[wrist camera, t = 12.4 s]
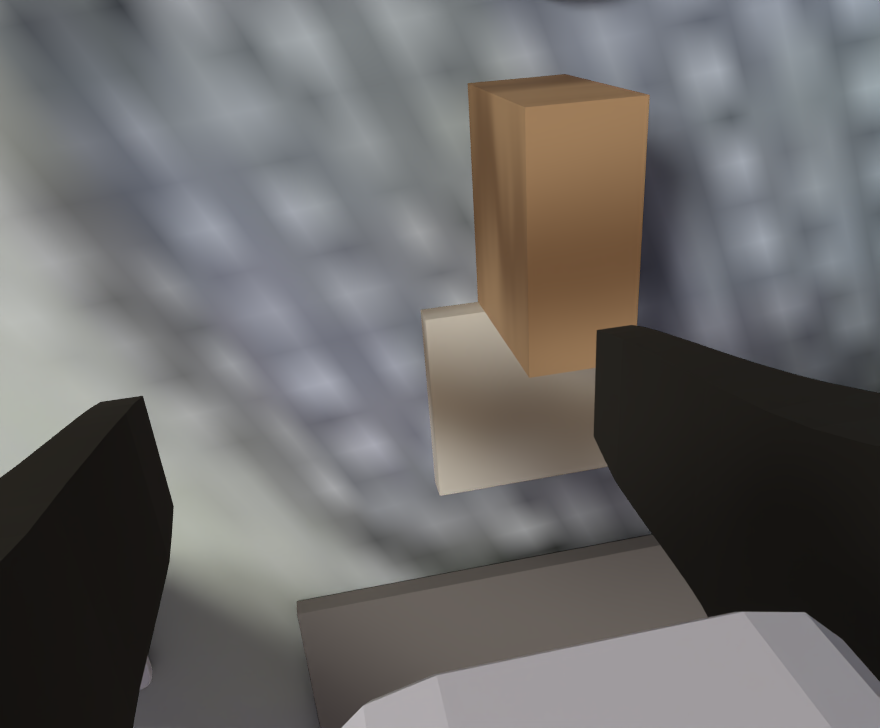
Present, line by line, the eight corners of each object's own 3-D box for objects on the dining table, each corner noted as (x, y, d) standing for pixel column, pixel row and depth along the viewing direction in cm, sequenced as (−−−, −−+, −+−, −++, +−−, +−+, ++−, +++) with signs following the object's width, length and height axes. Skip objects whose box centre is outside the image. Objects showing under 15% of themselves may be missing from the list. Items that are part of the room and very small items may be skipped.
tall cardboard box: (401, 89, 19) (440, 115, 14) (626, 68, 20) (727, 87, 15) (435, 481, 24) (470, 588, 20) (610, 451, 25) (682, 547, 21)
